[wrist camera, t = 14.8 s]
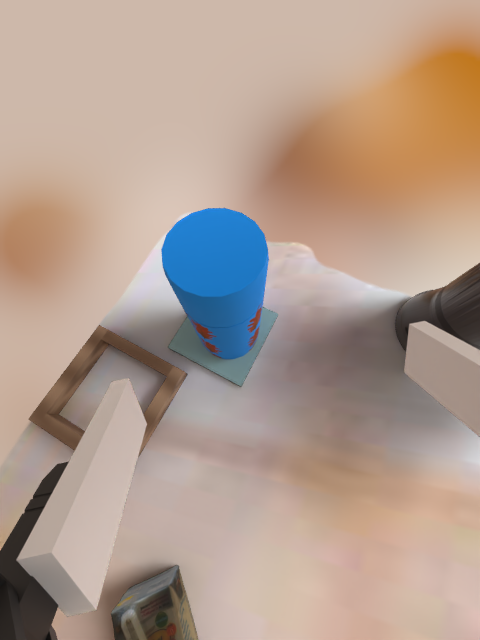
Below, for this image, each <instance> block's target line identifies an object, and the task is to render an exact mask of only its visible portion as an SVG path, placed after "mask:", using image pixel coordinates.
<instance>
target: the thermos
mask: <svg viewBox="0 0 480 640" xmlns="http://www.w3.org/2000/svg"><path fill="white" fill-rule="evenodd" d="M268 260H269V258H268V248H267V244H266V240H265V236H264V233H263V232H262V231H261V229H260V228H259V227H258V225H257V224H256V223H255V221H253V220H252V219H250V218H249V217H247V216H246V215H244V214H242V213H240V212H236V211H233V210H230V209H226V208H212V209H211V208H208V209H205V210H201V211H197V212H194V213H191V214H189V215H188V216H186V217H185V218H183V219H182V220H180V221H178V222H177V223H176V224H175V225H174V227H173V228H172V229H171V230H170V231H169V233H168V234H167V235H166V238H165V241H164V244H163V247H162V263H163V268H164V272H165V275H166V277H167V279H168V281H169V283H170V285H171V286H172V288H173V290H174V292H175V294H176V296H177V298H178V299H179V301H180V303H181V305H182V307H183V309H184V311H185V312H186V314H187V316H188V318H189V320H190V322H191V323H192V325H193V327H194V329H195V331H196V333H197V335H198V336H199V338H200V340H201V342H202V344H203V345H204V346H205V348H206V349H207V350H208V351H209V352H211V353H212V354H213V355H214V356H216V357H219V358H222V359H236V358H239V357H242V356H244V355H245V354H246V353H248V352H249V351H250V350H251V349H252V348H253V346H254V344H255V342H256V340H257V337H258V333H259V328H260V321H261V314H262V306H263V298H264V291H265V283H266V276H267V268H268Z"/></svg>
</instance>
